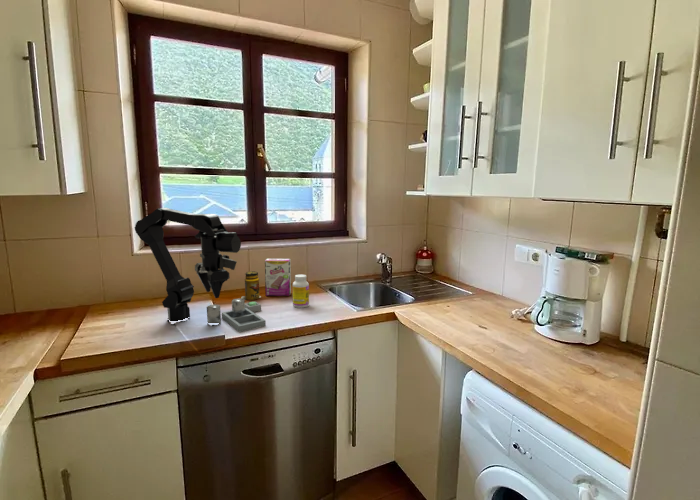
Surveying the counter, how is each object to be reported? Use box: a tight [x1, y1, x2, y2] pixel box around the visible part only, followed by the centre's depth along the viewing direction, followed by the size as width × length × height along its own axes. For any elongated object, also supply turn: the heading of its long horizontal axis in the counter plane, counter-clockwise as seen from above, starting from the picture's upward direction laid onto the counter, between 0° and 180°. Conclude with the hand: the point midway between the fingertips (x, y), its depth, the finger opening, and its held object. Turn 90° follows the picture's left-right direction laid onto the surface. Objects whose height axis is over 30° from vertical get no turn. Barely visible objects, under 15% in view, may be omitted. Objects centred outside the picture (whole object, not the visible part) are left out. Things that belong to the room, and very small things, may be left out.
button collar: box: [245, 301, 262, 313], centre depth 150 cm, size 5×5×3 cm
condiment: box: [241, 270, 262, 301], centre depth 165 cm, size 7×8×12 cm
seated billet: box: [231, 297, 246, 318], centre depth 140 cm, size 4×4×7 cm
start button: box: [248, 301, 257, 306], centre depth 150 cm, size 3×3×3 cm
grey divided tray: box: [221, 308, 267, 333], centre depth 137 cm, size 10×17×3 cm, turn 38°
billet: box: [206, 304, 222, 325], centre depth 135 cm, size 4×4×7 cm
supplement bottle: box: [292, 273, 310, 309], centre depth 157 cm, size 7×7×13 cm
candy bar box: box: [264, 258, 292, 297], centre depth 172 cm, size 11×5×16 cm, turn 94°
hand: (212, 294), depth 133 cm, fingers open, 9 cm apart
